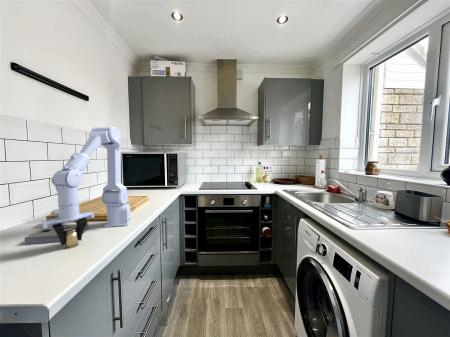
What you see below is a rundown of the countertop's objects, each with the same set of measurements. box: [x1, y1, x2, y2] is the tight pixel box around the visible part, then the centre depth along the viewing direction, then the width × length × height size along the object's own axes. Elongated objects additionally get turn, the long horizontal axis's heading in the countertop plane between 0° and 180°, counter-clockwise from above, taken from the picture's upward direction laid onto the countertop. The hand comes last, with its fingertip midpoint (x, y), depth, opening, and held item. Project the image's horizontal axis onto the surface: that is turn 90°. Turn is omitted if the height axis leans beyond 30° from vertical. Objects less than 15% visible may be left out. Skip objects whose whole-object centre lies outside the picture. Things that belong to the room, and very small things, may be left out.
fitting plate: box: [24, 222, 90, 246], centre depth 82 cm, size 16×12×3 cm
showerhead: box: [50, 208, 68, 225], centre depth 96 cm, size 9×7×10 cm
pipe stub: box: [63, 227, 80, 249], centre depth 73 cm, size 4×4×6 cm
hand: (71, 241), depth 73 cm, fingers open, 4 cm apart
